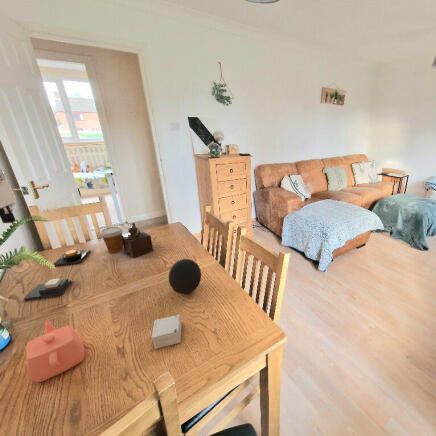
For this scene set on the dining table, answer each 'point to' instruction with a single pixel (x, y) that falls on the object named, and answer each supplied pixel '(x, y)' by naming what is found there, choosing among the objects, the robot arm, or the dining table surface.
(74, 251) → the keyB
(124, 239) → the brown coffee grinder
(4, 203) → the robot arm
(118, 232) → the disposable coffee cup
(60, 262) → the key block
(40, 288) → the dark grey base
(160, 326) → the small box
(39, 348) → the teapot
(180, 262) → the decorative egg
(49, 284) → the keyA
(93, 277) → the dining table surface
